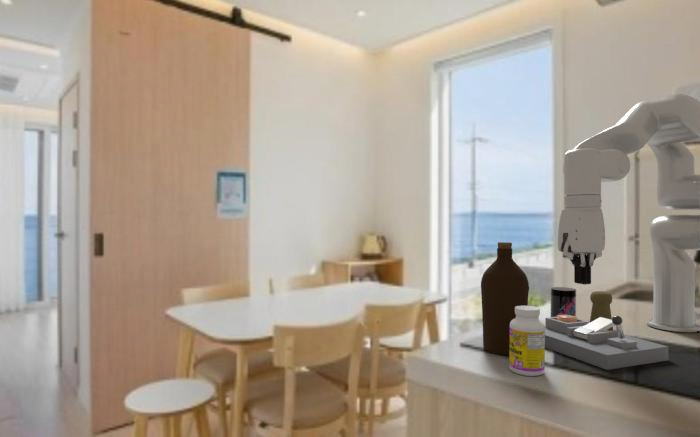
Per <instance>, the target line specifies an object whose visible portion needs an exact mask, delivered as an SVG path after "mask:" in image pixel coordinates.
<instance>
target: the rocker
mask: <svg viewBox="0 0 700 437" xmlns="http://www.w3.org/2000/svg"><path fill="white" fill-rule="evenodd" d="M589 322H590V321H589ZM614 326H615V324H614V323H613V322H612V320H611V319H606V318H602V317H599V318H598V319H596V320H594V321H592V322H590V323H588V324H587V325H585V326H583V327H579V328H577V329H576V330H574V332H573V334H574V336H576V337H579V338H583V339H586V340H588V333H595V332H604V331H606V330H607V329H609V328H611V327H613V328H614ZM615 327H616V326H615Z"/></svg>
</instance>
